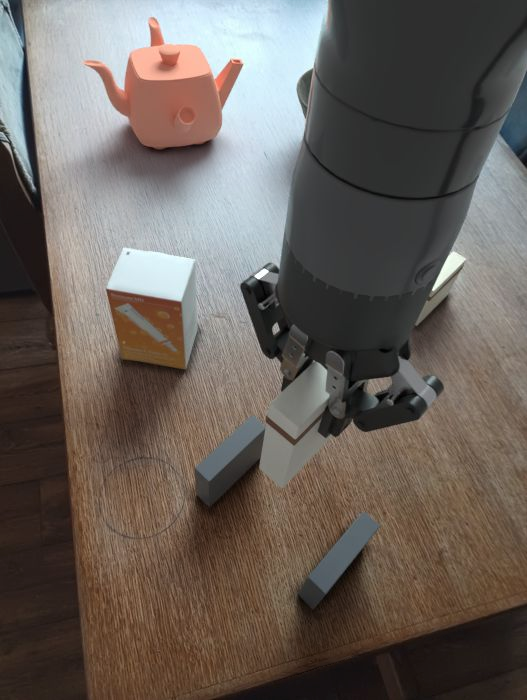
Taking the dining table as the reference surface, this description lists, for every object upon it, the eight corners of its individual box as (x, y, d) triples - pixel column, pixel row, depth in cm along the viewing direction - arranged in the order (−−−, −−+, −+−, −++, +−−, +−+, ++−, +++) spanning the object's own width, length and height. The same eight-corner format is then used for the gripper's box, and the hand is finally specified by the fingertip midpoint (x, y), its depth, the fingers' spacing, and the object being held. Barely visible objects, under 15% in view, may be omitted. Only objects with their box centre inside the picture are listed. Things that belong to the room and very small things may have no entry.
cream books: (448, 294, 76) (467, 259, 70) (416, 326, 72) (434, 291, 66) (356, 235, 81) (367, 198, 76) (323, 262, 77) (331, 225, 72)
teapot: (96, 140, 90) (80, 55, 79) (157, 90, 100) (150, 8, 89) (192, 177, 86) (189, 94, 75) (245, 121, 96) (249, 40, 85)
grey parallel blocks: (363, 547, 55) (380, 525, 49) (313, 610, 51) (325, 594, 45) (249, 444, 60) (252, 414, 55) (196, 494, 57) (194, 467, 51)
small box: (121, 360, 65) (103, 288, 55) (136, 319, 69) (122, 245, 58) (187, 371, 65) (181, 301, 55) (198, 330, 69) (196, 257, 58)
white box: (347, 421, 44) (376, 351, 36) (282, 490, 41) (298, 429, 32) (323, 402, 45) (346, 329, 37) (257, 468, 41) (267, 403, 33)
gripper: (542, 268, 24) (422, 441, 38) (303, 131, 29) (274, 329, 43) (457, 368, 21) (360, 517, 35) (201, 193, 25) (206, 386, 40)
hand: (312, 412), depth 39 cm, fingers closed on white box, 2 cm apart
